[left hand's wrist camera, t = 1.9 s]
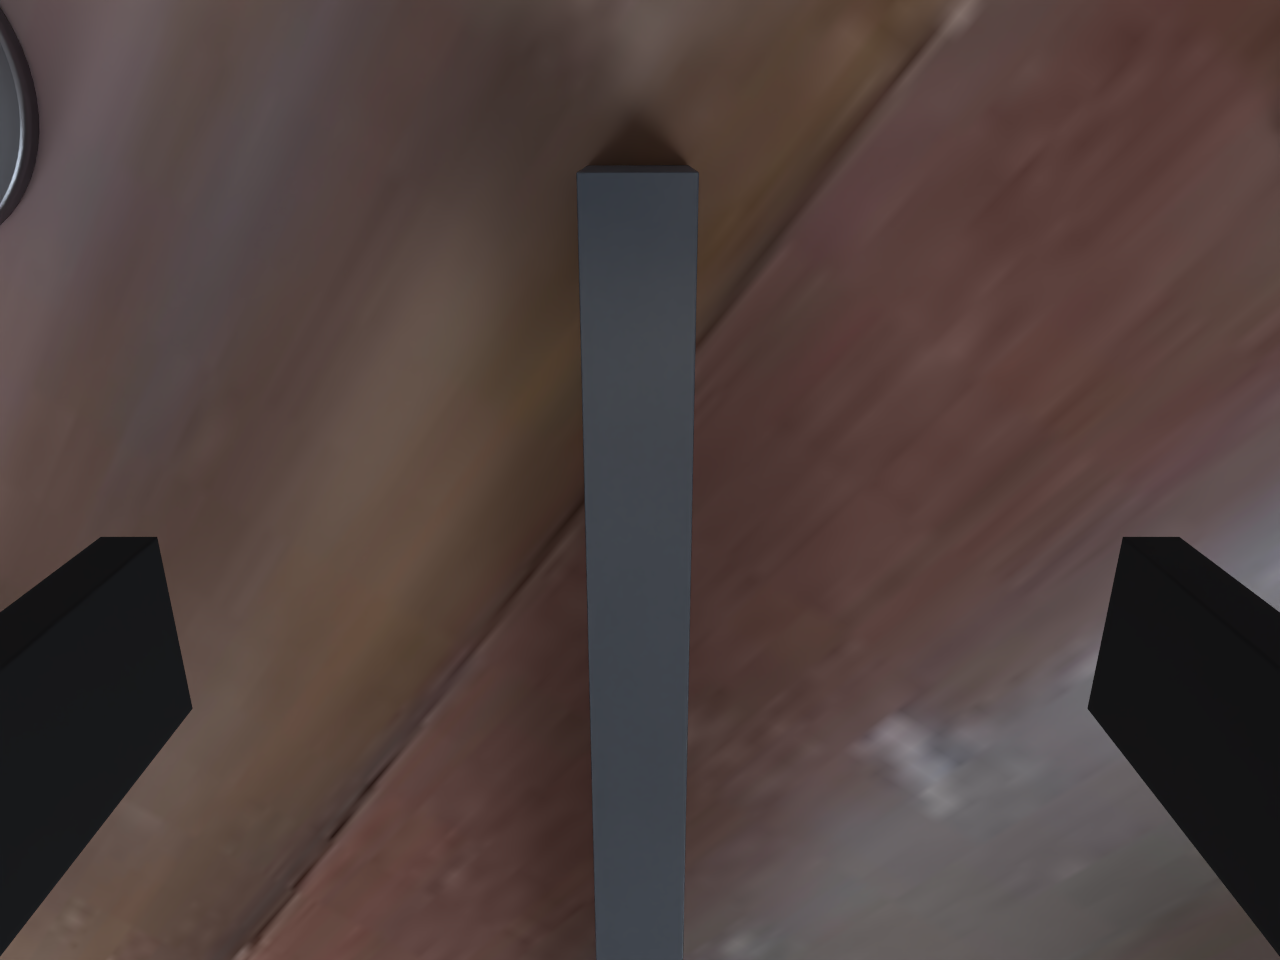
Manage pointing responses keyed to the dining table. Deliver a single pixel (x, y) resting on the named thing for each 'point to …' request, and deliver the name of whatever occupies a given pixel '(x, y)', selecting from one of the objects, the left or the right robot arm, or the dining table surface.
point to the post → (638, 540)
